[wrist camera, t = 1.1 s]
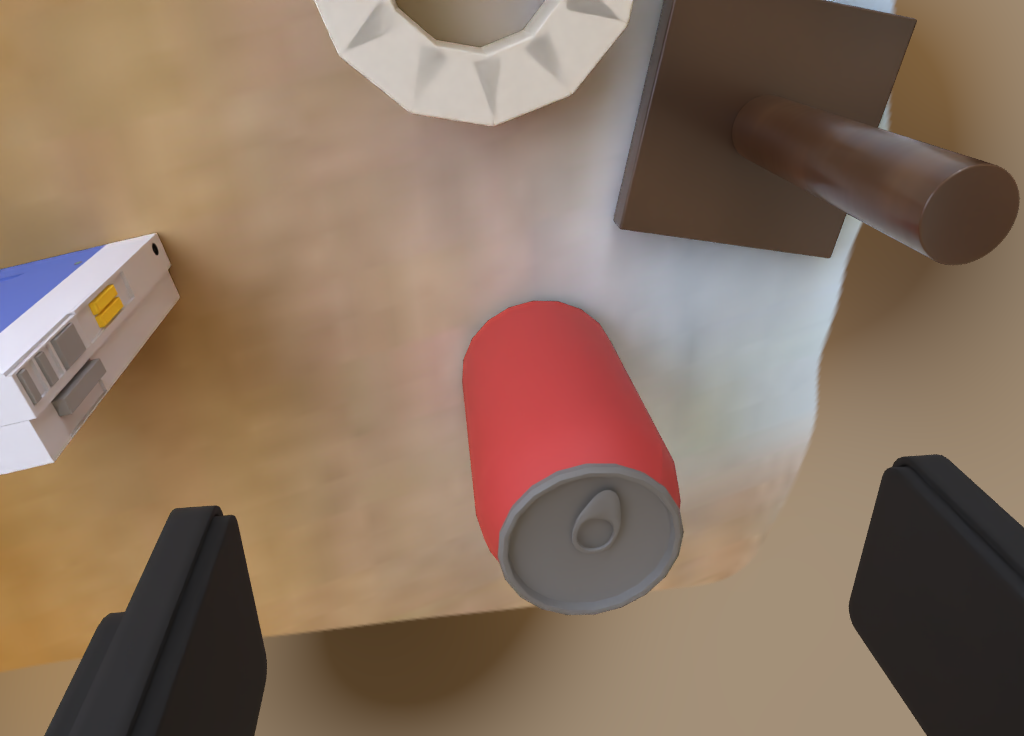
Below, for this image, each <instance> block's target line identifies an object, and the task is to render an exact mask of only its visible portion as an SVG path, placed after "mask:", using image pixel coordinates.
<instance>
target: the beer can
mask: <svg viewBox="0 0 1024 736" xmlns="http://www.w3.org/2000/svg"><path fill="white" fill-rule="evenodd" d="M462 383H463V393H464V402H465V412H466V422H467V431H468V441H469V451H470V460H471V470H472V480H473V489H474V499H475V509H476V516H477V519H478V522H479V525H480V527H481V530H482V533H483V536H484V539H485V541H486V543H487V545H488V548H489V550H490V552H491V553H492V554H493V555H494V557H495V558H496V559H497V560H498V562H499V563H500V565H501V568H502V571H503V574H504V577H505V580H506V581H507V582H508V583H509V584H510V586H511V587H512V588H513V589H514V590H515V591H516V593H517V594H518V595H519V596H520V597H521V598H523V599H525V600H526V601H528V602H530V603H532V604H534V605H535V606H537V607H539V608H541V609H543V610H548V611H552V612H556V613H561V614H565V615H587V614H588V615H590V614H598V613H602V612H606V611H610V610H613V609H617V608H621V607H623V606H625V605H627V604H629V603H631V602H633V601H634V600H636V599H638V598H640V597H642V596H644V595H646V594H647V593H648V592H649V591H650V590H651V589H653V588H654V587H655V586H656V585H657V584H658V583H659V582H660V581H661V580H662V579H664V578H665V577H666V575H667V574H668V572H669V570H670V569H671V567H672V565H673V564H674V562H675V561H676V559H677V557H678V556H679V552H680V547H681V543H682V538H683V533H684V531H683V525H682V520H681V514H680V502H681V500H680V493H679V487H678V481H677V475H676V470H675V464H674V461H673V459H672V457H671V455H670V453H669V451H668V449H667V447H666V445H665V444H664V442H663V440H662V438H661V436H660V434H659V432H658V430H657V428H656V426H655V425H654V423H653V421H652V419H651V417H650V415H649V413H648V411H647V409H646V408H645V406H644V404H643V402H642V400H641V398H640V396H639V394H638V392H637V391H636V389H635V387H634V385H633V383H632V381H631V379H630V377H629V375H628V373H627V372H626V370H625V368H624V366H623V364H622V362H621V360H620V358H619V356H618V355H617V353H616V351H615V349H614V347H613V345H612V343H611V341H610V340H609V338H608V337H607V335H606V333H605V332H604V330H603V329H602V327H601V325H600V324H599V323H598V322H597V321H596V320H594V319H593V318H592V317H590V316H589V315H588V314H587V313H585V312H584V311H583V310H581V309H579V308H576V307H573V306H570V305H567V304H564V303H562V302H559V301H531V302H527V303H524V304H520V305H516V306H513V307H509V308H507V309H506V310H504V311H503V312H501V313H499V314H498V315H496V316H495V317H493V318H491V319H490V320H488V321H487V322H486V323H485V325H484V326H483V327H482V328H481V329H480V330H479V332H478V333H477V334H476V335H475V336H474V337H473V338H472V340H471V343H470V345H469V348H468V350H467V353H466V355H465V357H464V360H463V379H462Z"/></svg>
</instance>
